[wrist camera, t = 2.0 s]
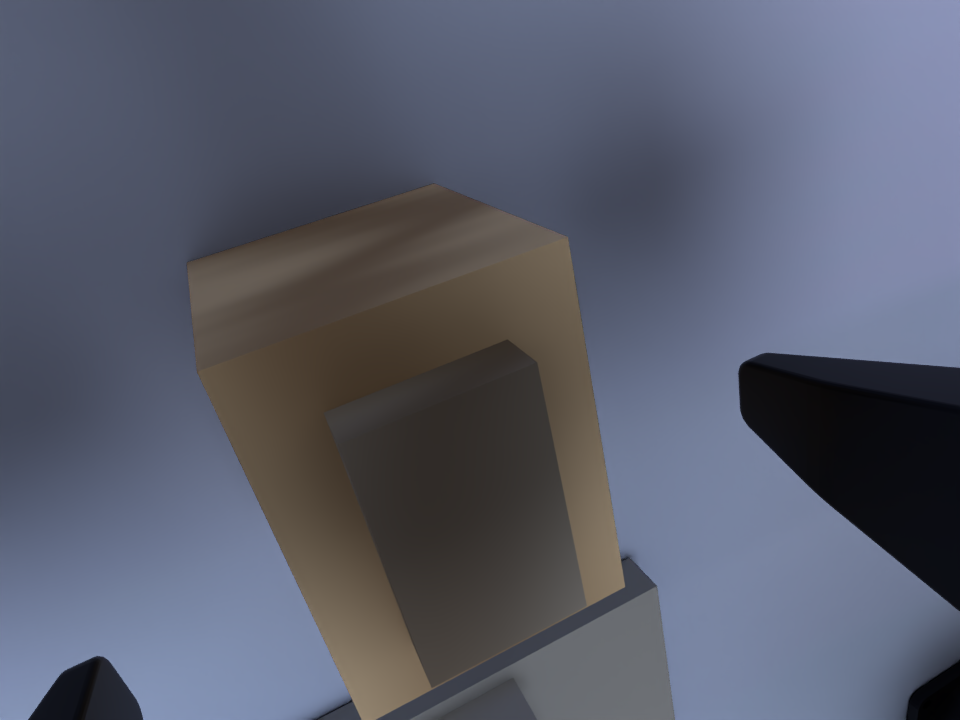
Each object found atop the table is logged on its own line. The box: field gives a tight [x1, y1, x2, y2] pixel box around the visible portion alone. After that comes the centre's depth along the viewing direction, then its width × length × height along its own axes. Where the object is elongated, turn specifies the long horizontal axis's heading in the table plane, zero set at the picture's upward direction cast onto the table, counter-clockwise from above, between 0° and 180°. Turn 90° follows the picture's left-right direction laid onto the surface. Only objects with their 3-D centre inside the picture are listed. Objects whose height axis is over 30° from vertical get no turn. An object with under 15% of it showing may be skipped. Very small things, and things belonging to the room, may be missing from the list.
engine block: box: [187, 184, 625, 720], centre depth 11 cm, size 4×6×6 cm
